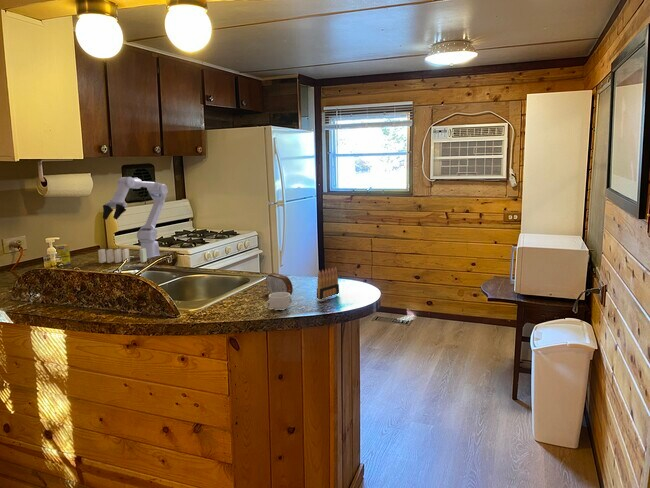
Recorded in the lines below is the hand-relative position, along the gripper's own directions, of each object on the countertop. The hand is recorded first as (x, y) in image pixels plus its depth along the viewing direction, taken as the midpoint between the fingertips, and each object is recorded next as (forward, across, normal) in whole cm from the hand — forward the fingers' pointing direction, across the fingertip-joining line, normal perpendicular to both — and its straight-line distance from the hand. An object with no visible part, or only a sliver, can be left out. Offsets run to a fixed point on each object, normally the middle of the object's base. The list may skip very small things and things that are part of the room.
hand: (109, 218), depth 256 cm
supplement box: (+25, -29, +8) cm, 39 cm away
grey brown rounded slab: (+36, +112, 0) cm, 118 cm away
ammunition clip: (+36, +133, +2) cm, 137 cm away
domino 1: (+17, -15, +19) cm, 29 cm away
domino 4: (+14, -3, +23) cm, 27 cm away
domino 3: (+15, -7, +22) cm, 27 cm away
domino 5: (+12, +6, +26) cm, 30 cm away
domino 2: (+16, -11, +20) cm, 28 cm away
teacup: (+47, +122, -14) cm, 131 cm away
